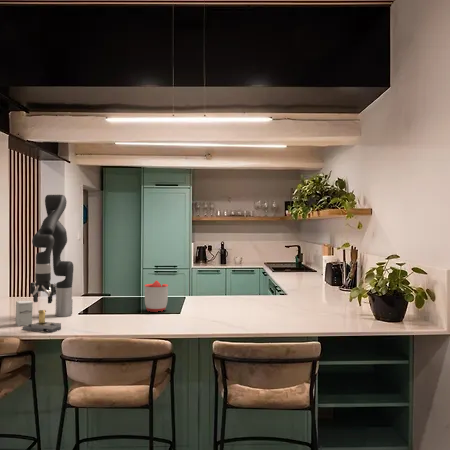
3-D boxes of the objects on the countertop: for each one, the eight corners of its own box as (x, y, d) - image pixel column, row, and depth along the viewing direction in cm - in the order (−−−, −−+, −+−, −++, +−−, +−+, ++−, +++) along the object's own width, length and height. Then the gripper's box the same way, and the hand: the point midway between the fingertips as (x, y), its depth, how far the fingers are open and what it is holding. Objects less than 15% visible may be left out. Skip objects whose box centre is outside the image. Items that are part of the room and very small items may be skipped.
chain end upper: (40, 327, 226) (40, 320, 226) (60, 329, 222) (61, 322, 222) (31, 330, 219) (31, 323, 219) (52, 332, 215) (52, 325, 216)
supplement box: (17, 326, 227) (18, 303, 227) (15, 323, 233) (15, 301, 233) (32, 324, 231) (33, 302, 231) (29, 322, 237) (30, 300, 237)
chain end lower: (31, 326, 227) (32, 322, 227) (52, 328, 224) (52, 324, 224) (22, 329, 220) (22, 325, 220) (43, 331, 217) (43, 327, 217)
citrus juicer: (170, 308, 285) (171, 279, 285) (164, 313, 268) (165, 282, 268) (148, 307, 287) (149, 278, 287) (140, 312, 269) (141, 281, 270)
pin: (41, 328, 223) (41, 309, 223) (46, 329, 222) (47, 310, 223) (36, 330, 220) (36, 311, 220) (42, 330, 219) (42, 311, 219)
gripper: (59, 271, 223) (58, 302, 223) (36, 270, 227) (35, 300, 227) (50, 273, 216) (49, 305, 216) (26, 272, 219) (26, 303, 220)
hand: (42, 302), depth 221 cm, fingers open, 8 cm apart
